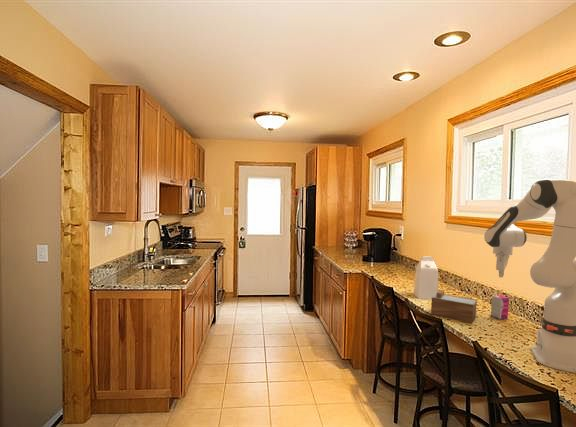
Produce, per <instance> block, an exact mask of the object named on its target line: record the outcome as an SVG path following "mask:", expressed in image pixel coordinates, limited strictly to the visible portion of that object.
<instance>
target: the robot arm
mask: <svg viewBox="0 0 576 427" xmlns="http://www.w3.org/2000/svg"><path fill="white" fill-rule="evenodd" d="M552 208H553V209H554V211H555V213H554V214H555V216H554V220H553V224H552V225H553V226H552V231H551V237H550V242H549V244H548V246H547V249H546V250H545V252H544V254H543V255H542V256H541V257H540V258H539V259H538V260H537V261H536V262H534V263H533V264H532V265H531V267H530V270H529V273H530V278H531V280H532V282H534V283H535V284H536V285H538V286H540V287H541V286H542V287H545V288H550V289H551V288H553V289H554V290H553V291H552V293H551V294H550V295H548V296H547V297H546V298H545V300H544V306H543V308H544V309H543V317H542V319H541V328H539V329H538V330H537V332H536V341H535V346H533V345H532V346H530V348H529V350H530V349H531V350H532V352H533V353H532V352H531V353H532V355H533V354H534V355H533V357H534V356H535V357H534V359H535V358H536V359H535V361H536V360H537V361H538V362H539V363H538V362H537V361H536V362H537V363H538V364H540V363H541V364H540V365H542V364H543V366H545V367H548V368H551V369H556V370H559V371H564V372H568V373H572V374H573V373H575V374H576V180H568V179H564V178H563V179H561V178H560V179H559V178H558V179H549V178H544V179H539V180H536V181H534V183H533V184H532V186H530V189H529V190H528V192H526V194H525V196H524V197H523V198H522V199H521V200H520V201H518V202H516V203H515V204H514V205H512V206H511V207H509V208H507V210H506V211H504V213H503V214H502V215H501V216H500V217H499V218H498V220H497V221H496V222H495V223H494V224H493V225H492V226H490V227H489V228H488V229H487V230H486V231H485V232H484V241H485V242H486V244H487V245H489V246H490V247H491V248H492V254H494V256H495V257H496V262H495V263H496V264H495V265H496V266H495V269H496V271H498V277H499V278H503V277H504V274H505V269H506V267H507V266H508V262H509V258H510V256H512V255H513V251H514V250H513V248H520V247H523V246H524V245H525V244H526V242H527V237H528V236H527V233H526V231H525V230H524V229H522V228H519V227H517V226H516V225H515V223H517V222H522V221H528V220H536V219H539V218H542V217H543V216H545V215H546V214H547V213H548V212H549V211H550V210H551V209H552ZM531 350H530V351H531Z"/></svg>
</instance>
